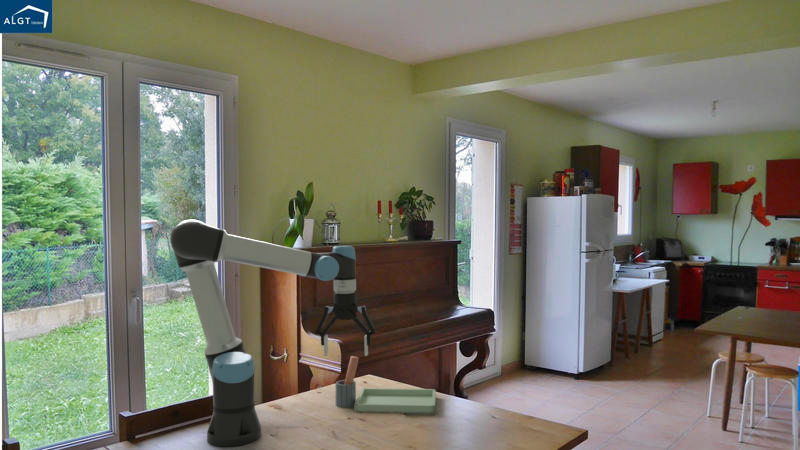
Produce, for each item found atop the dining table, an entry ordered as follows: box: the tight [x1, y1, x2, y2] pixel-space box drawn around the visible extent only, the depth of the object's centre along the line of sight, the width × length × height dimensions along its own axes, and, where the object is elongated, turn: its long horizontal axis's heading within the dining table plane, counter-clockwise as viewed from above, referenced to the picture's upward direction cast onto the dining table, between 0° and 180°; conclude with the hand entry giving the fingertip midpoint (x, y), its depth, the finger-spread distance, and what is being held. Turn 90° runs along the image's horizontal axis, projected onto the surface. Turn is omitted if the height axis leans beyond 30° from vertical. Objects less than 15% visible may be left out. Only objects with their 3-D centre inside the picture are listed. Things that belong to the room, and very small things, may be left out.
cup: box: [335, 379, 357, 409], centre depth 193 cm, size 7×7×8 cm
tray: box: [353, 387, 437, 416], centre depth 193 cm, size 26×18×3 cm
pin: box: [344, 355, 360, 385], centre depth 193 cm, size 6×3×16 cm, turn 86°
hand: (346, 355), depth 193 cm, fingers open, 13 cm apart
